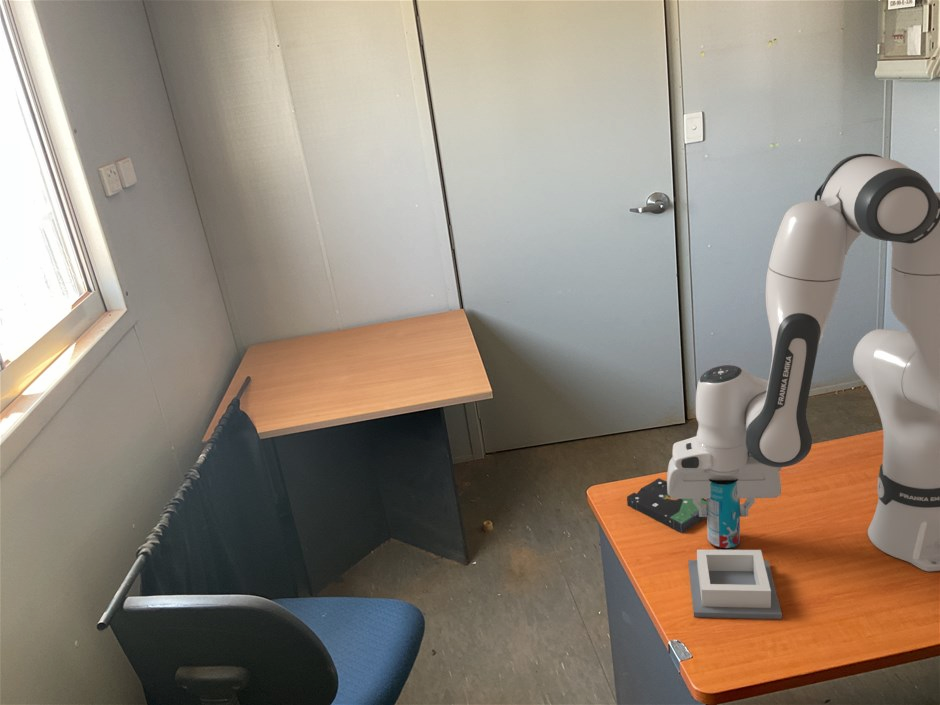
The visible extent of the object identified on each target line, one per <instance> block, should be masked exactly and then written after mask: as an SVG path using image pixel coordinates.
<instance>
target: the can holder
mask: <svg viewBox="0 0 940 705" xmlns="http://www.w3.org/2000/svg"><path fill="white" fill-rule="evenodd" d="M687 563H688V564H687V565H688V573H689V574H688V575H689V583H690V591H691V594H690V595H691V602H692V611H693V612H692V613H693V618H714V619H715V618H719V619H720V618H721V619H722V618H723V619H757V620H759V619H763V620H782V619H783V613H782V610H781V606H780V602H779V601H780V600H779V597H778V594H777V590H776V589H777V588H776V585H775V581H774V578H773V575H772V570H771V566H770V562H769V560H764V557H763V552H762V549H729V550H722V549H696V559H694V560H693V559H688V561H687Z"/></svg>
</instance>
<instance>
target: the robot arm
mask: <svg viewBox="0 0 940 705" xmlns="http://www.w3.org/2000/svg"><path fill="white" fill-rule="evenodd" d="M818 196H819V200H818ZM861 232H863V233H864V234H865V235H867V236H868V237H870V238H872V239H875V240H879V241H886V242H890V244H891V247H892V248H891V261H890V264H891V265H890V266H891V267H890V310H891V311H892V313H893V315H894V316H895V318H896V319H897V321H898V322H900V323H901V325H902V326H904V328H905V329H906V330H898V329H887V328H886V329H885V328H877V329H872V330H871V331H869V332H868V333H866V334H865V335H864V336H863V337H862V338H861V339H860V340H859V341H858V342H857V345H856V346H855V348H854V352H853V358H852V365H853V369H854V372H855V373H856V374H857V376H858V377H859V378H860V379H861V381H863V383H864V384H865V386H866V388H868V390H869V392H870V394H871V396H872V399H873V401H874V403H875V405H876V409H877V411H878V414H879V418H880V421H881V425H882V431H883V432H882V433H883V435H882V436H883V445H882V446H883V449H882V450H883V451H882V452H883V454H882V463H881V465H880V466H879V473H878V477H877V487H876V488H877V491H876V492H877V496H878V500H877V504H876V508H875V511H874V515H873V516H872V517H873V518H872V520H871V521H870V524H869V526H868V528H867V535H868V538H869V540H870V542H871V543H872V544H873V545H874V546H875V547H876V548H878V549H879V550H880V551H882V552H883V553H885V554H887V555H889V556H891V557H894V558H897V559H899V560H902V561H904V562H908V563H910V564H911V565H912V566H913V565H914V566H915V567H917V568H919V569H920V570H922V571H926V572H939V571H940V192H935V190H934V188H933V187H932V185H931V184H930V182H929V180H928V179H926V177H925V176H924V175H922V173H919V172H918V171H916V170H914V169H911V168H910V167H908V166H907V165H905V164H904V163H902V162H899V161H898V160H896V159H891V158H886V157H883V156H880V155H878V154H875V153H858V154H852V155H850V156H847V157H846V158H843V159H842V160H840V161H839V162H838V163H837V164H835V165H834V166H833V167H832V169H831V170H830V171H829V173H828V174H827V177H826V178H825V180H824V181H823V183H822V184H821V185H820V187H818V189H817V190H816V192H815V193H814V200H806V201H802V202H798V203H797V204H794V205H793V206H791V207H790V208H789V209H787V211H786V212H785V214H784V215H783V218H782V221H781V223H780V225H779V227H778V230H777V233H776V235H775V239H774V243H773V245H772V249H771V253H770V257H769V261H768V266H767V272H766V279H765V309H766V315H767V319H768V325H769V330H770V337H771V344H772V346H771V347H772V355H771V356H772V357H771V364H770V369H769V370H770V371H769V376H768V379H764V378H761V377H758V376H755V375H752V374H750V373H749V372H747V371H745V369H743V368H742V367H739V366H736V365H730V364H727V365H726V364H724V365H723V364H722V365H717V366H715V367H711V368H710V369H708V370H707V371H705V372H703V374H702V375H701V376H700V377H699V380H698V382H697V385H696V386H697V387H696V392H695V417H696V421H697V423H698V428H697V431H696V435H695V436H693V437H690V438H687V439H683V440H680V441H679V440H678V441H677V442H674V444H673V445H672V453H671V454H672V457H671V459H670V460H669V462H668V466H667V474H666V481H667V493H668V495H669V496H670V497H671V498H672V499H693V503H694V504H695V506H696V507H697V508H698V510H699V517H707V505H705V504H702V503H701V499H703V498H704V499H707V498H711V486H710V483H711V481H709V479H711V480H736V479H738V480H737V481H736V483H737V498H740V499H745V501H744V502H743V503H740V518H741V517H744V518H745V517H749V510H750V509H751V508H752V506H753V505H754V504H755V501H756V499H775V498H778V497H779V496H780V495H781V494H782V481H781V475H780V471H781V470H782V468H785V467H791V466H794V465H796V464H798V463H800V462H801V461H803V460H804V459H805V458H807V456H808V455H809V454H810V451H811V449H812V444H813V440H812V434H811V432H810V431H811V430H810V429H809V428H810V427H809V424H808V422H807V407H808V403H809V402H808V401H809V395H810V391H811V385H812V379H813V374H814V370H815V366H816V365H815V364H816V361H817V360H816V359H817V355H818V351H819V347H820V345H821V342H822V340H823V336H824V333H825V329H826V325H827V323H828V321H829V317H830V314H831V312H832V310H833V306H834V305H835V304H834V303H835V300H836V296H837V294H838V291H839V288H840V283H841V279H842V275H843V274H842V273H843V271H844V270H843V269H844V264H845V258H846V256H847V254H848V251H849V249H850V248H851V246H852V245H853V243H854V242H855V240H857V238H859V236H861V235H862V234H861Z"/></svg>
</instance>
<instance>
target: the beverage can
mask: <svg viewBox="0 0 940 705" xmlns="http://www.w3.org/2000/svg"><path fill="white" fill-rule="evenodd" d="M737 480H738V479H736V480H711V479H709V481H711V483H710V486H711V498H706V500H707V518H706V522H707V523H706V525H707V526H706V529H707V531H706V532H707V541H708V543H709V544H710V545H711V546H712V547H714V549H715V548H716V549H717V550H734V548H737V546H738V545H739V544H740V541H741V517H740V504H741V500H740V499H741V498H737V483H736V481H737Z"/></svg>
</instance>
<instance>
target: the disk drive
mask: <svg viewBox="0 0 940 705" xmlns="http://www.w3.org/2000/svg"><path fill="white" fill-rule="evenodd" d="M626 503H627V507H629V508H631V509H632V510H635V511H637V512H638V513H641V514H643V515H645V516H646V517H648V518H650V519H653V520H654V521H656V522H659V523H660V524H663V525H664V526H666V527H667V528H670V529H671V530H673V531H676V532H678V533H680V534H684V533H685V532H687V531H688V530H690V529H692V527H695V526H696V525H697V524H699V523H700V522H702V521H703V520H705V519H707V517H699V510H698V508H697V507H696V506H695V504H694V503H693V499H672V498H671V497H670V496H669V495H668V493H667V480H664V479H662V478H660V477H659V478H657V479H655V480H653V481H652V482H649V483H648V484H646V485H644V486H642V487H641V488H640V489H639V491H637V493H636V492H633V493H631V494H629V495H627V496H626ZM701 503H702V504H705V505H707V498H703V499H701Z"/></svg>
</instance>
